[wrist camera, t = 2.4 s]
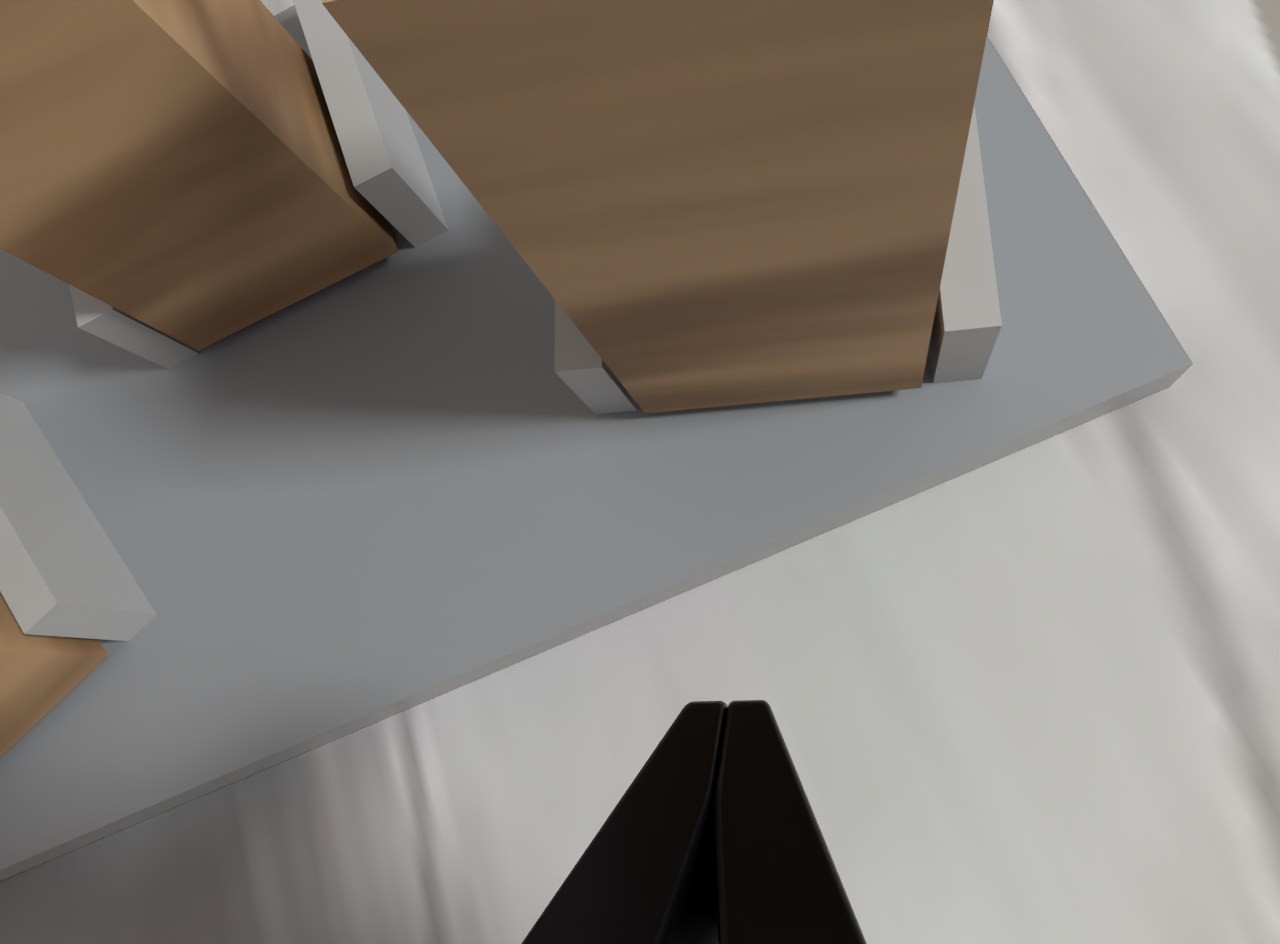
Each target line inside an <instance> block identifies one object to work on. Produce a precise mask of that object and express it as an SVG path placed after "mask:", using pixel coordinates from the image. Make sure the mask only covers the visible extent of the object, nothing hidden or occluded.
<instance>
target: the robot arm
mask: <svg viewBox="0 0 1280 944" xmlns="http://www.w3.org/2000/svg"><path fill="white" fill-rule="evenodd" d="M522 944H866V941H865V939H864V936H863V934H862V931H861V929H860V926H859V924H858V921H857V919H856V916H855V914H854V912H853V909H852V907H851V904H850V902H849V899H848V897H847V894H846V892H845V889H844V887H843V884H842V882H841V880H840V877H839V875H838V872H837V870H836V867H835V865H834V862H833V860H832V857H831V855H830V852H829V850H828V848H827V845H826V843H825V840H824V838H823V835H822V833H821V830H820V828H819V825H818V823H817V820H816V818H815V816H814V813H813V811H812V808H811V806H810V803H809V801H808V798H807V796H806V793H805V791H804V789H803V786H802V784H801V781H800V779H799V776H798V774H797V771H796V769H795V766H794V764H793V761H792V759H791V757H790V754H789V752H788V749H787V747H786V744H785V742H784V739H783V737H782V734H781V732H780V729H779V727H778V725H777V722H776V720H775V717H774V715H773V712H772V710H771V707H770V705H769V704H768V703H767V702H766V701H763V700H752V701H732V702H731V703H730V704H729V706H727V704H726V703H724V702H722V701H700V702H690V703H688V704H687V705H686V706H685V707H684V708H683V710H682V711H681V712H680V714H679V715H678V717H677V718H676V720H675V721H674V723H673V724H672V726H671V727H670V728H669V730H668V731H667V733H666V734H665V736H664V737H663V739H662V740H661V742H660V743H659V744H658V746H657V747H656V749H655V750H654V752H653V753H652V755H651V756H650V758H649V759H648V760H647V762H646V763H645V765H644V766H643V768H642V769H641V771H640V772H639V774H638V775H637V776H636V778H635V779H634V781H633V782H632V784H631V785H630V787H629V788H628V790H627V791H626V792H625V794H624V795H623V797H622V798H621V800H620V801H619V803H618V804H617V806H616V807H615V808H614V810H613V811H612V813H611V814H610V816H609V817H608V819H607V820H606V822H605V823H604V824H603V826H602V827H601V829H600V830H599V832H598V833H597V835H596V836H595V838H594V839H593V840H592V842H591V843H590V845H589V846H588V848H587V849H586V851H585V852H584V854H583V855H582V856H581V858H580V859H579V861H578V862H577V864H576V865H575V867H574V868H573V870H572V871H571V872H570V874H569V875H568V877H567V878H566V880H565V881H564V883H563V884H562V886H561V887H560V888H559V890H558V891H557V893H556V894H555V896H554V897H553V899H552V900H551V902H550V903H549V904H548V906H547V907H546V909H545V910H544V912H543V913H542V915H541V916H540V918H539V919H538V920H537V922H536V923H535V925H534V926H533V928H532V929H531V931H530V932H529V934H528V935H527V936H526V938H525V939H524V941H523V942H522Z"/></svg>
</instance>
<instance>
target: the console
mask: <svg viewBox="0 0 1280 944" xmlns="http://www.w3.org/2000/svg"><path fill="white" fill-rule="evenodd" d="M293 1H294V4H295V5H294V6H292V7H290V8H288V9H286V10H284V11H283V12H281V13H279V14H277V15H275V16H274V17H275V18H276V19H277V20H278V22H279V23H280V24H281V25H282V26H283V27H284V28H285V30H286V31H287V32H288V33H289V34H290V35H291V36H292V38H293V39H294V40H295V41H296V42H297V43H298V44H299V46H300V47H301V48H302V49H303V50H304V51H305V52H306V54H307V55H308V56H309V57H310V58H311V59H312V60H313V63H314V66H315V69H316V72H317V75H318V78H319V81H320V84H321V87H322V90H323V94H324V97H325V100H326V103H327V106H328V109H329V112H330V115H331V118H332V121H333V124H334V127H335V130H336V134H337V137H338V140H339V143H340V146H341V149H342V152H343V155H344V158H345V161H346V164H347V167H348V170H349V173H350V177H351V180H352V183H353V186H354V188H355V189H356V190H357V191H358V192H359V193H360V194H361V195H362V196H363V197H365V198H366V199H367V200H368V201H369V202H370V203H371V204H372V205H373V206H374V207H375V208H376V209H377V210H378V211H379V212H380V213H381V214H382V215H383V216H384V217H385V218H386V219H387V220H388V223H389V226H390V229H391V232H392V235H393V238H394V240H395V243H396V246H397V249H398V252H396V253H394V254H392V255H390V256H388V257H386V258H384V259H382V260H380V261H378V262H376V263H374V264H372V265H370V266H368V267H366V268H364V269H362V270H360V271H358V272H356V273H354V274H352V275H350V276H348V277H346V278H344V279H342V280H340V281H338V282H336V283H334V284H332V285H329V286H327V287H325V288H323V289H321V290H319V291H317V292H315V293H313V294H311V295H309V296H307V297H305V298H303V299H301V300H299V301H297V302H295V303H293V304H291V305H289V306H287V307H285V308H283V309H281V310H279V311H277V312H275V313H273V314H271V315H269V316H267V317H265V318H263V319H261V320H259V321H257V322H255V323H253V324H251V325H249V326H247V327H245V328H243V329H241V330H239V331H237V332H235V333H233V334H231V335H229V336H227V337H224V338H222V339H220V340H218V341H216V342H214V343H212V344H210V345H208V346H206V347H204V348H202V349H200V350H196V349H194V348H192V347H190V346H188V345H186V344H184V343H183V342H181V341H179V340H177V339H175V338H173V337H171V336H169V335H167V334H165V333H163V332H161V331H159V330H157V329H155V328H153V327H151V326H149V325H147V324H145V323H144V322H142V321H140V320H138V319H136V318H134V317H132V316H130V315H128V314H126V313H124V312H122V311H120V310H118V309H116V308H114V307H112V306H110V305H108V304H106V303H105V302H103V301H101V300H99V299H97V298H95V297H93V296H91V295H89V294H87V293H85V292H83V291H81V290H79V289H77V288H75V287H73V286H71V285H69V284H67V283H66V282H64V281H62V280H60V279H58V278H56V277H54V276H52V275H50V274H48V273H46V272H44V271H42V270H40V269H38V268H36V267H34V266H32V265H30V264H28V263H27V262H25V261H23V260H21V259H19V258H17V257H15V256H13V255H11V254H9V253H7V252H5V251H3V250H1V249H0V592H1V593H2V595H3V597H4V599H5V600H6V602H7V604H8V606H9V608H10V609H11V611H12V613H13V615H14V617H15V618H16V620H17V622H18V624H19V625H20V627H21V629H22V631H23V633H24V634H31V635H45V636H60V637H74V638H89V639H98V640H99V641H100V643H101V645H102V646H103V648H104V650H105V651H106V653H107V655H108V657H107V658H105V659H104V660H103V661H102V662H101V663H100V664H99V665H98V666H97V667H96V668H95V669H94V670H93V671H92V672H91V673H89V674H88V675H87V676H86V677H85V678H84V679H83V680H82V681H81V682H80V683H79V684H78V685H77V686H76V687H75V688H74V689H72V690H71V691H70V692H69V693H68V694H67V695H66V696H65V697H64V698H63V699H62V700H61V701H60V702H59V703H58V704H56V705H55V706H54V707H53V708H52V709H51V710H50V711H49V712H48V713H47V714H46V715H45V716H44V717H43V718H42V719H40V720H39V721H38V722H37V723H36V724H35V725H34V726H33V727H32V728H31V729H30V730H29V731H28V732H27V733H26V734H24V735H23V736H22V737H21V738H20V739H19V740H18V741H17V742H16V743H15V744H14V745H13V746H12V747H11V748H10V749H9V750H7V751H6V752H5V753H4V754H3V755H2V756H1V757H0V881H2V880H4V879H7V878H9V877H11V876H14V875H16V874H18V873H21V872H23V871H25V870H28V869H30V868H33V867H35V866H37V865H40V864H42V863H44V862H47V861H49V860H51V859H54V858H56V857H59V856H61V855H63V854H66V853H68V852H70V851H73V850H75V849H77V848H80V847H82V846H85V845H87V844H89V843H92V842H94V841H96V840H99V839H101V838H104V837H106V836H108V835H111V834H113V833H115V832H118V831H120V830H122V829H125V828H127V827H130V826H132V825H134V824H137V823H139V822H141V821H144V820H146V819H148V818H151V817H153V816H156V815H158V814H160V813H163V812H165V811H167V810H170V809H172V808H175V807H177V806H179V805H182V804H184V803H186V802H189V801H191V800H193V799H196V798H198V797H201V796H203V795H205V794H208V793H210V792H212V791H215V790H217V789H219V788H222V787H224V786H227V785H229V784H231V783H234V782H236V781H238V780H241V779H243V778H245V777H248V776H250V775H253V774H255V773H257V772H260V771H262V770H264V769H267V768H269V767H272V766H274V765H276V764H279V763H281V762H283V761H286V760H288V759H290V758H293V757H295V756H298V755H300V754H302V753H305V752H307V751H309V750H312V749H314V748H316V747H319V746H321V745H324V744H326V743H328V742H331V741H333V740H335V739H338V738H340V737H342V736H345V735H347V734H350V733H352V732H354V731H357V730H359V729H361V728H364V727H366V726H369V725H371V724H373V723H376V722H378V721H380V720H383V719H385V718H387V717H390V716H392V715H395V714H397V713H399V712H402V711H404V710H406V709H409V708H411V707H413V706H416V705H418V704H421V703H423V702H425V701H428V700H430V699H432V698H435V697H437V696H439V695H442V694H444V693H447V692H449V691H451V690H454V689H456V688H458V687H461V686H463V685H466V684H468V683H470V682H473V681H475V680H477V679H480V678H482V677H484V676H487V675H489V674H492V673H494V672H496V671H499V670H501V669H503V668H506V667H508V666H510V665H513V664H515V663H518V662H520V661H522V660H525V659H527V658H529V657H532V656H534V655H537V654H539V653H541V652H544V651H546V650H548V649H551V648H553V647H555V646H558V645H560V644H563V643H565V642H567V641H570V640H572V639H574V638H577V637H579V636H581V635H584V634H586V633H589V632H591V631H593V630H596V629H598V628H600V627H603V626H605V625H607V624H610V623H612V622H615V621H617V620H619V619H622V618H624V617H626V616H629V615H631V614H634V613H636V612H638V611H641V610H643V609H645V608H648V607H650V606H652V605H655V604H657V603H660V602H662V601H664V600H667V599H669V598H671V597H674V596H676V595H678V594H681V593H683V592H686V591H688V590H690V589H693V588H695V587H697V586H700V585H702V584H704V583H707V582H709V581H712V580H714V579H716V578H719V577H721V576H723V575H726V574H728V573H731V572H733V571H735V570H738V569H740V568H742V567H745V566H747V565H749V564H752V563H754V562H757V561H759V560H761V559H764V558H766V557H768V556H771V555H773V554H775V553H778V552H780V551H783V550H785V549H787V548H790V547H792V546H794V545H797V544H799V543H801V542H804V541H806V540H809V539H811V538H813V537H816V536H818V535H820V534H823V533H825V532H828V531H830V530H832V529H835V528H837V527H839V526H842V525H844V524H846V523H849V522H851V521H854V520H856V519H858V518H861V517H863V516H865V515H868V514H870V513H872V512H875V511H877V510H880V509H882V508H884V507H887V506H889V505H891V504H894V503H896V502H899V501H901V500H903V499H906V498H908V497H910V496H913V495H915V494H917V493H920V492H922V491H925V490H927V489H929V488H932V487H934V486H936V485H939V484H941V483H943V482H946V481H948V480H951V479H953V478H955V477H958V476H960V475H962V474H965V473H967V472H969V471H972V470H974V469H977V468H979V467H981V466H984V465H986V464H988V463H991V462H993V461H996V460H998V459H1000V458H1003V457H1005V456H1007V455H1010V454H1012V453H1014V452H1017V451H1019V450H1022V449H1024V448H1026V447H1029V446H1031V445H1033V444H1036V443H1038V442H1040V441H1043V440H1045V439H1048V438H1050V437H1052V436H1055V435H1057V434H1059V433H1062V432H1064V431H1066V430H1069V429H1071V428H1074V427H1076V426H1078V425H1081V424H1083V423H1085V422H1088V421H1090V420H1093V419H1095V418H1097V417H1100V416H1102V415H1104V414H1107V413H1109V412H1111V411H1114V410H1116V409H1119V408H1121V407H1123V406H1126V405H1128V404H1130V403H1133V402H1135V401H1137V400H1140V399H1142V398H1145V397H1147V396H1149V395H1152V394H1154V393H1156V392H1159V391H1161V390H1163V389H1166V388H1168V387H1170V386H1171V385H1172V384H1173V383H1174V382H1175V381H1176V380H1177V379H1178V378H1179V377H1180V376H1181V375H1182V374H1183V373H1184V372H1185V371H1186V370H1187V369H1188V368H1189V367H1190V366H1191V365H1192V364H1193V363H1192V362H1191V360H1190V359H1189V357H1188V355H1187V354H1186V352H1185V351H1184V349H1183V347H1182V346H1181V344H1180V343H1179V341H1178V339H1177V338H1176V336H1175V335H1174V333H1173V332H1172V330H1171V328H1170V327H1169V325H1168V324H1167V322H1166V320H1165V319H1164V317H1163V316H1162V314H1161V312H1160V311H1159V309H1158V308H1157V306H1156V304H1155V303H1154V301H1153V300H1152V298H1151V296H1150V295H1149V293H1148V292H1147V290H1146V288H1145V287H1144V285H1143V284H1142V282H1141V280H1140V279H1139V277H1138V276H1137V274H1136V272H1135V271H1134V269H1133V268H1132V266H1131V264H1130V263H1129V261H1128V260H1127V258H1126V256H1125V255H1124V253H1123V252H1122V250H1121V248H1120V247H1119V245H1118V244H1117V242H1116V240H1115V239H1114V237H1113V236H1112V234H1111V232H1110V231H1109V229H1108V228H1107V226H1106V225H1105V223H1104V221H1103V220H1102V218H1101V217H1100V215H1099V213H1098V212H1097V210H1096V209H1095V207H1094V205H1093V204H1092V202H1091V201H1090V199H1089V197H1088V196H1087V194H1086V193H1085V191H1084V189H1083V188H1082V186H1081V185H1080V183H1079V181H1078V180H1077V178H1076V177H1075V175H1074V173H1073V172H1072V170H1071V169H1070V167H1069V165H1068V164H1067V162H1066V161H1065V159H1064V157H1063V156H1062V154H1061V153H1060V151H1059V149H1058V148H1057V146H1056V145H1055V143H1054V141H1053V140H1052V138H1051V137H1050V135H1049V133H1048V132H1047V130H1046V129H1045V127H1044V126H1043V124H1042V122H1041V121H1040V119H1039V118H1038V116H1037V114H1036V113H1035V111H1034V110H1033V108H1032V106H1031V105H1030V103H1029V102H1028V100H1027V98H1026V97H1025V95H1024V94H1023V92H1022V90H1021V89H1020V87H1019V86H1018V84H1017V82H1016V81H1015V79H1014V78H1013V76H1012V74H1011V73H1010V71H1009V70H1008V68H1007V66H1006V65H1005V63H1004V62H1003V60H1002V58H1001V57H1000V55H999V54H998V52H997V50H996V49H995V47H994V46H993V44H992V42H991V41H990V39H989V38H988V36H987V38H986V43H985V48H984V54H983V59H982V64H981V70H980V75H979V80H978V86H977V91H976V96H975V102H974V107H973V113H972V118H971V123H970V129H969V134H968V139H967V145H966V150H965V155H964V161H963V166H962V171H961V177H960V182H959V188H958V193H957V198H956V204H955V209H954V214H953V220H952V225H951V230H950V236H949V241H948V246H947V252H946V257H945V263H944V268H943V273H942V279H941V284H940V289H939V295H938V300H937V305H936V311H935V316H934V321H933V327H932V332H931V338H930V343H929V348H928V354H927V359H926V364H925V370H924V375H923V380H922V386H921V388H916V389H905V390H894V391H883V392H872V393H862V394H851V395H840V396H829V397H818V398H807V399H796V400H785V401H774V402H763V403H752V404H741V405H730V406H719V407H708V408H697V409H686V410H675V411H664V412H654V413H644V412H643V410H642V409H641V408H640V407H639V405H638V404H637V403H636V402H635V400H634V399H633V398H632V397H631V395H630V394H629V393H628V391H627V390H626V389H625V388H624V386H623V385H622V384H621V383H620V381H619V380H618V379H617V377H616V376H615V375H614V374H613V372H612V371H611V370H610V369H609V367H608V366H607V365H606V364H605V362H604V361H603V360H602V358H601V357H600V356H599V355H598V353H597V352H596V351H595V350H594V348H593V347H592V346H591V344H590V343H589V342H588V341H587V339H586V338H585V337H584V336H583V334H582V333H581V332H580V331H579V329H578V328H577V327H576V325H575V324H574V323H573V322H572V320H571V319H570V318H569V317H568V315H567V314H566V313H565V311H564V310H563V309H562V308H561V306H560V305H559V304H558V303H557V301H556V300H555V299H554V298H553V296H552V295H551V294H550V292H549V291H548V290H547V289H546V287H545V286H544V285H543V284H542V282H541V281H540V280H539V278H538V277H537V276H536V275H535V273H534V272H533V271H532V270H531V268H530V267H529V266H528V264H527V263H526V262H525V261H524V259H523V258H522V257H521V256H520V254H519V253H518V252H517V251H516V249H515V248H514V247H513V245H512V244H511V243H510V242H509V240H508V239H507V238H506V237H505V235H504V234H503V233H502V231H501V230H500V229H499V228H498V226H497V225H496V224H495V223H494V221H493V220H492V219H491V218H490V216H489V215H488V214H487V212H486V211H485V210H484V209H483V207H482V206H481V205H480V204H479V202H478V201H477V200H476V198H475V197H474V196H473V195H472V193H471V192H470V191H469V190H468V188H467V187H466V186H465V185H464V183H463V182H462V181H461V179H460V178H459V177H458V176H457V174H456V173H455V172H454V171H453V169H452V168H451V167H450V165H449V164H448V163H447V162H446V160H445V159H444V158H443V157H442V155H441V154H440V153H439V152H438V150H437V149H436V148H435V146H434V145H433V144H432V143H431V141H430V140H429V139H428V138H427V136H426V135H425V134H424V132H423V131H422V130H421V129H420V127H419V126H418V125H417V124H416V122H415V121H414V120H413V118H412V117H411V116H410V115H409V113H408V112H407V111H406V110H405V108H404V107H403V106H402V105H401V103H400V102H399V101H398V99H397V98H396V97H395V96H394V94H393V93H392V92H391V91H390V89H389V88H388V87H387V85H386V84H385V83H384V82H383V80H382V79H381V78H380V77H379V75H378V74H377V73H376V72H375V70H374V69H373V68H372V66H371V65H370V64H369V63H368V61H367V60H366V59H365V58H364V56H363V55H362V54H361V52H360V51H359V50H358V49H357V47H356V46H355V45H354V44H353V42H352V41H351V40H350V39H349V37H348V36H347V35H346V33H345V32H344V31H343V30H342V28H341V27H340V26H339V25H338V23H337V22H336V21H335V19H334V18H333V17H332V16H331V14H330V13H329V12H328V11H327V9H326V8H325V7H324V6H323V4H322V0H293Z"/></svg>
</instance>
